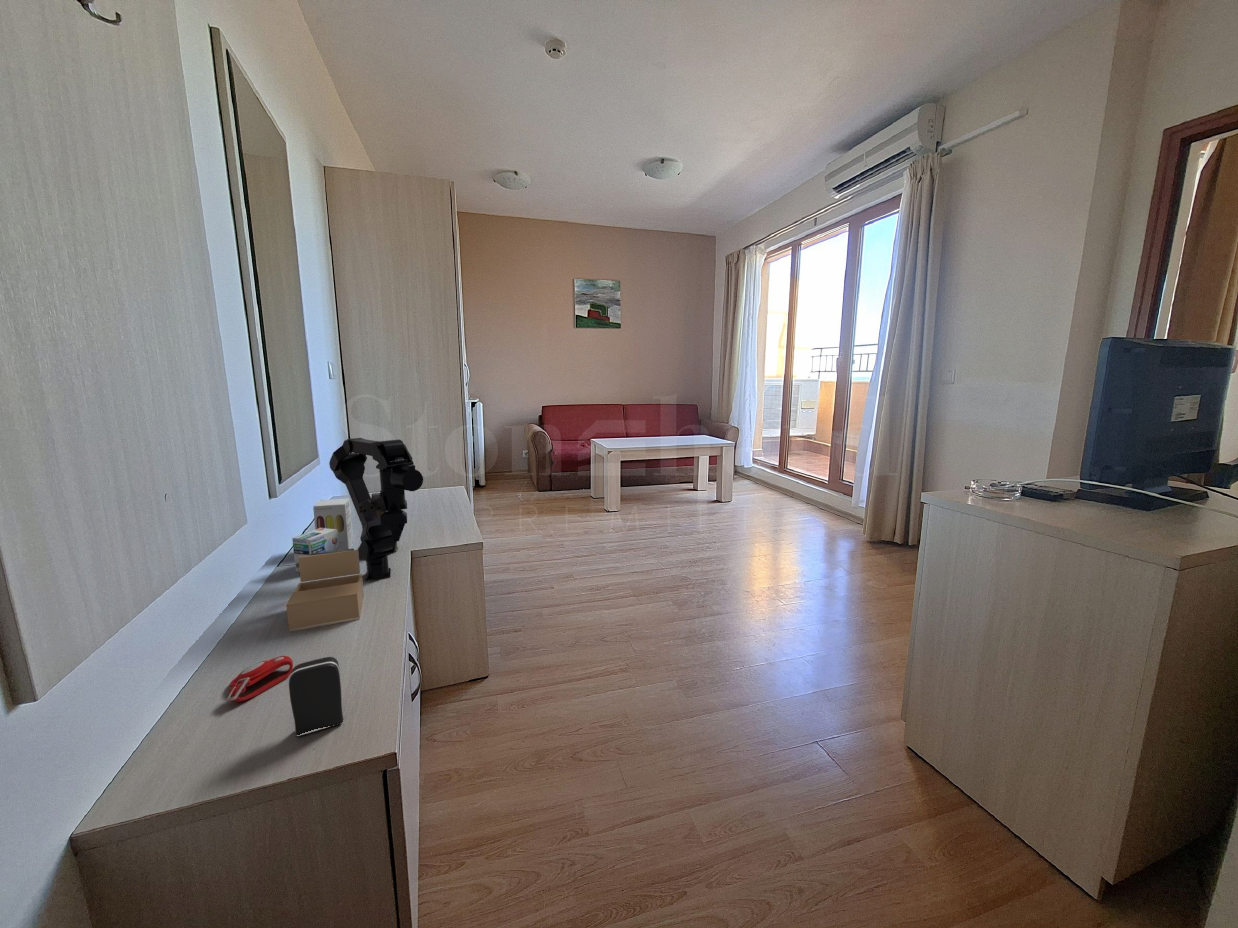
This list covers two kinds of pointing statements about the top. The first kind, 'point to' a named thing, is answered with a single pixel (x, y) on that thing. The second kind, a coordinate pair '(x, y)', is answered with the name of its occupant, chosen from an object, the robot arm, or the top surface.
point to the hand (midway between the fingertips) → (396, 541)
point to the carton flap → (329, 564)
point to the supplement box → (335, 519)
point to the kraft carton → (325, 602)
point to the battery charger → (316, 694)
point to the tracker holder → (257, 677)
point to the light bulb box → (315, 543)
